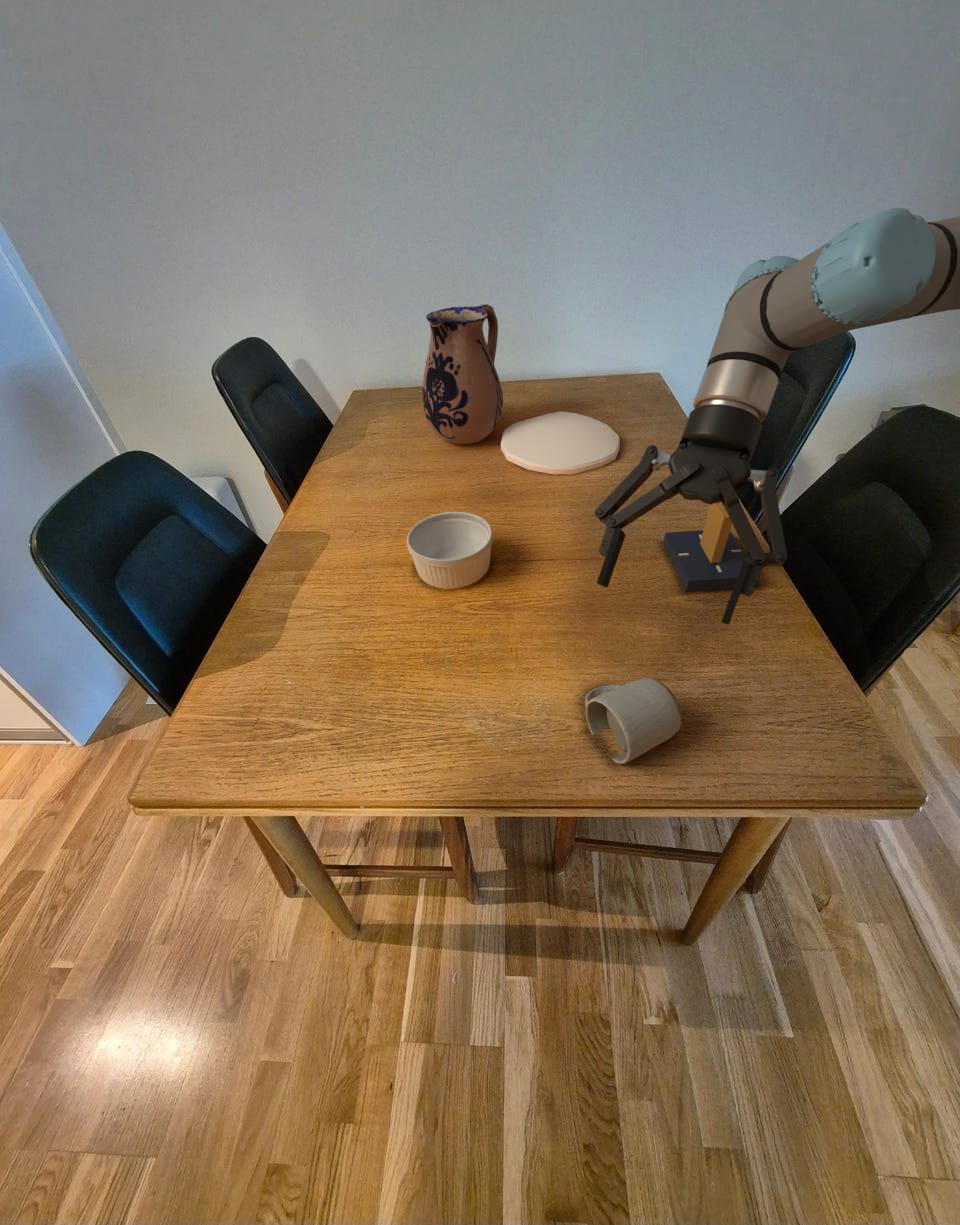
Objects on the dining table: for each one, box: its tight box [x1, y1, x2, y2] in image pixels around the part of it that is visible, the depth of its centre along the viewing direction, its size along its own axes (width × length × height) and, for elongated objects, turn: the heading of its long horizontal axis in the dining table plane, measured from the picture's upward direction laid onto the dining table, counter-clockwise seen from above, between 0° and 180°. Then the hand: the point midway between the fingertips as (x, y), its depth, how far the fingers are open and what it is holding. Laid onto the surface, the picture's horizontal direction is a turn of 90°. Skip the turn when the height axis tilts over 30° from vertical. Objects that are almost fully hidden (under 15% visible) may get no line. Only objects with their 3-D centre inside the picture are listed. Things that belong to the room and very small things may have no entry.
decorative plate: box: [500, 410, 621, 475], centre depth 112 cm, size 25×4×25 cm
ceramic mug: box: [584, 677, 683, 765], centre depth 60 cm, size 11×8×8 cm
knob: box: [700, 501, 733, 563], centre depth 77 cm, size 5×1×8 cm, turn 1°
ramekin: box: [406, 511, 494, 590], centre depth 84 cm, size 13×13×7 cm
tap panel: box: [662, 529, 751, 593], centre depth 81 cm, size 12×10×3 cm
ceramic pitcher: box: [422, 303, 504, 445], centre depth 114 cm, size 18×21×25 cm
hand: (660, 603), depth 59 cm, fingers open, 13 cm apart
